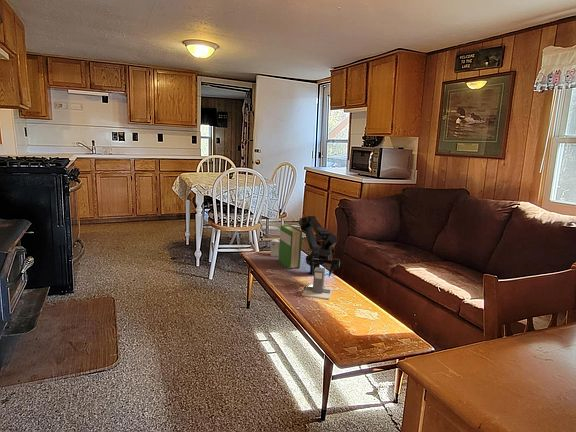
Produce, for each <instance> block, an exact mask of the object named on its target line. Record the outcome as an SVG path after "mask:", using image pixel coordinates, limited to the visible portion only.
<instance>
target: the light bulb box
mask: <svg viewBox="0 0 576 432" xmlns="http://www.w3.org/2000/svg"><path fill="white" fill-rule="evenodd" d="M279 244H280V239H277V238H273V239H272V240H271V242H270V257H278V258H279Z"/></svg>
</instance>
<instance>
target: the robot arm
mask: <svg viewBox="0 0 576 432" xmlns="http://www.w3.org/2000/svg"><path fill="white" fill-rule="evenodd" d="M298 225H299V227H300V230H301V231H302V232H304V234H305V238H306V240H307V244H308V246H309V250H310V252H309V254H307V255H306V256H305V264H307V265H308V266H309V267H310V268H309V272H307V274H308V275H312V276H314V270H315V268H316V267H319V268H321V265H324V264H327V265H330V267H329V272H328V277H330V276H331V275H332V274H333V272H334V271H335V270H337V269H340V268H341V267H340V265H341V260H340V259H339V258H332V260H331V259H330V256H332V249H331V248H333V247H334V246H335V245H336V244H337V243H338V241H339V239H338V237H337V235H335V234H334V232H330V231H329V230H328V229H327V228H325V227H323V226H322V225H321V223H320V222H319V220H318V219H317V218H316V216H315V215H307V216H304V217H300V218H299V220H298ZM314 232H315V233H314ZM317 241H321V243H320V245H318V242H317ZM319 246H320V248H319Z"/></svg>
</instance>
